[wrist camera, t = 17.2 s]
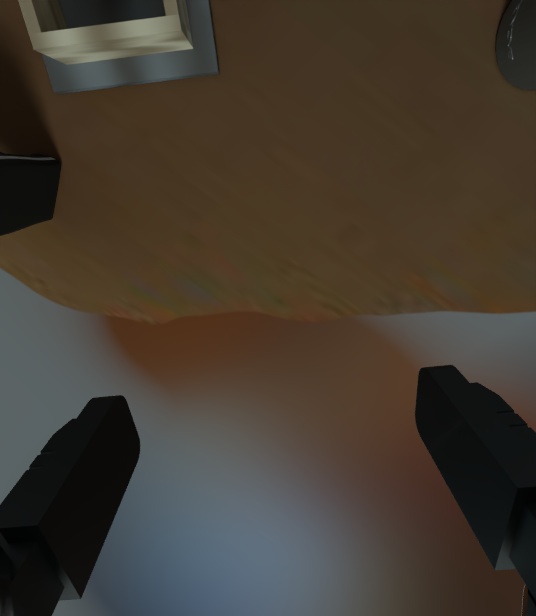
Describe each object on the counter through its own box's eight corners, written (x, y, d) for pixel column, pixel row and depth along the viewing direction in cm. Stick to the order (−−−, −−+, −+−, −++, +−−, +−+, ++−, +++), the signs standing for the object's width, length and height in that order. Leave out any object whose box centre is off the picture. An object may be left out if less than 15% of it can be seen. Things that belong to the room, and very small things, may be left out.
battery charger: (26, 144, 35) (-73, 139, 25) (64, 160, 36) (-18, 161, 26) (19, 208, 38) (-74, 228, 28) (53, 221, 39) (-24, 246, 28)
